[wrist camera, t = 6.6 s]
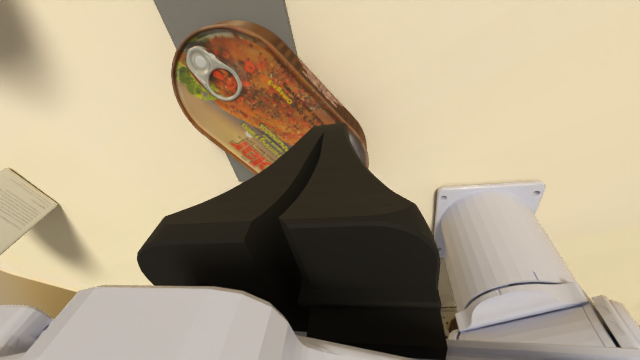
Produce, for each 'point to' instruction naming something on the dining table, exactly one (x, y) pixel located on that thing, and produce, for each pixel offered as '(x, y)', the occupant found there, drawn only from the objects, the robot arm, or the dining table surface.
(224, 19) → the mat
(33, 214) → the skincare box
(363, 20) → the dining table surface
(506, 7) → the dining table surface
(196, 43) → the tin
